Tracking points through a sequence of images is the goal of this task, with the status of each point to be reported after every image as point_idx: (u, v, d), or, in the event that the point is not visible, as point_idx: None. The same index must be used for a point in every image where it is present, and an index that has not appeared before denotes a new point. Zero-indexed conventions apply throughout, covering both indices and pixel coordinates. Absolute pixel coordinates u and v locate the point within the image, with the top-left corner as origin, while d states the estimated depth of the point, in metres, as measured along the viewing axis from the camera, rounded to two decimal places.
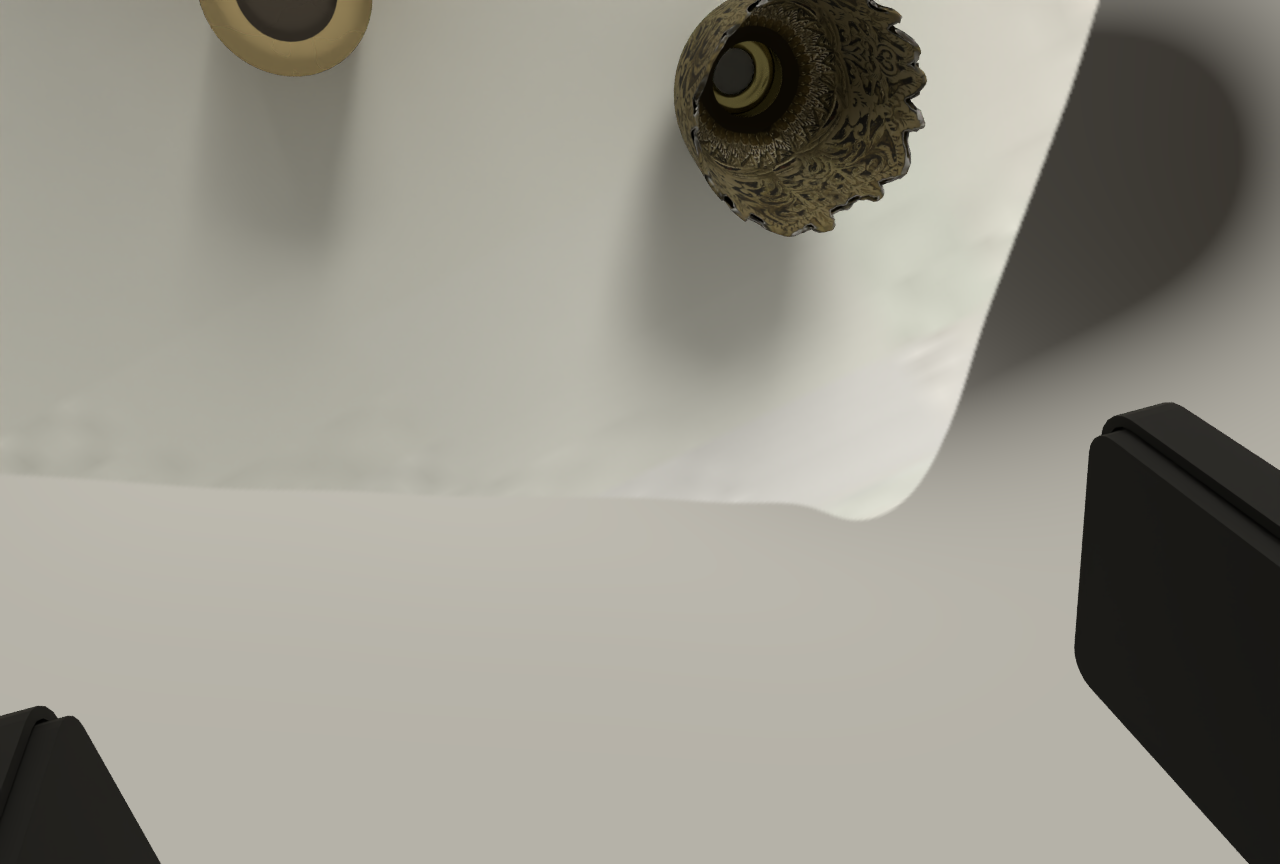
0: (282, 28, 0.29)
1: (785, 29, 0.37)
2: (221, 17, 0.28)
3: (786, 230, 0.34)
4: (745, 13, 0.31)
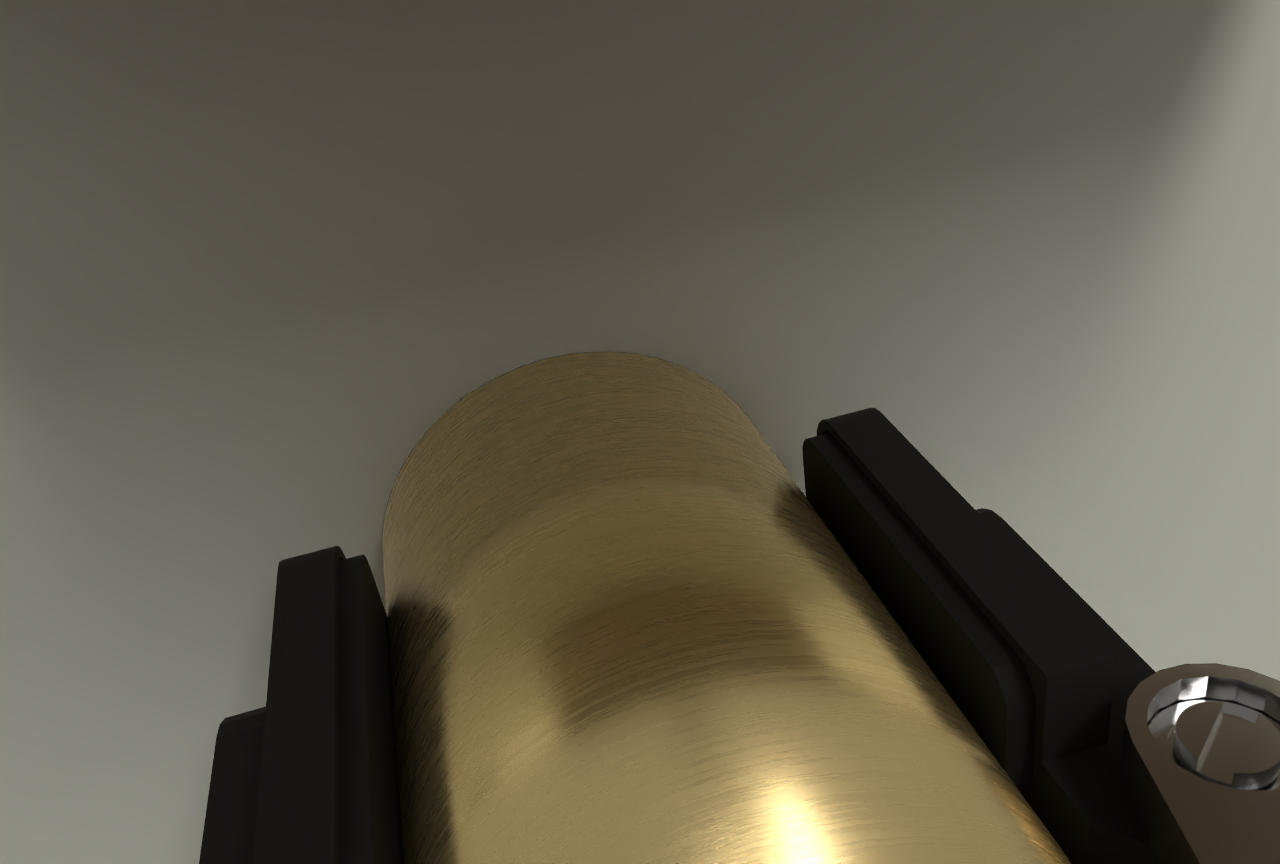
0: None
1: None
2: None
3: None
4: None
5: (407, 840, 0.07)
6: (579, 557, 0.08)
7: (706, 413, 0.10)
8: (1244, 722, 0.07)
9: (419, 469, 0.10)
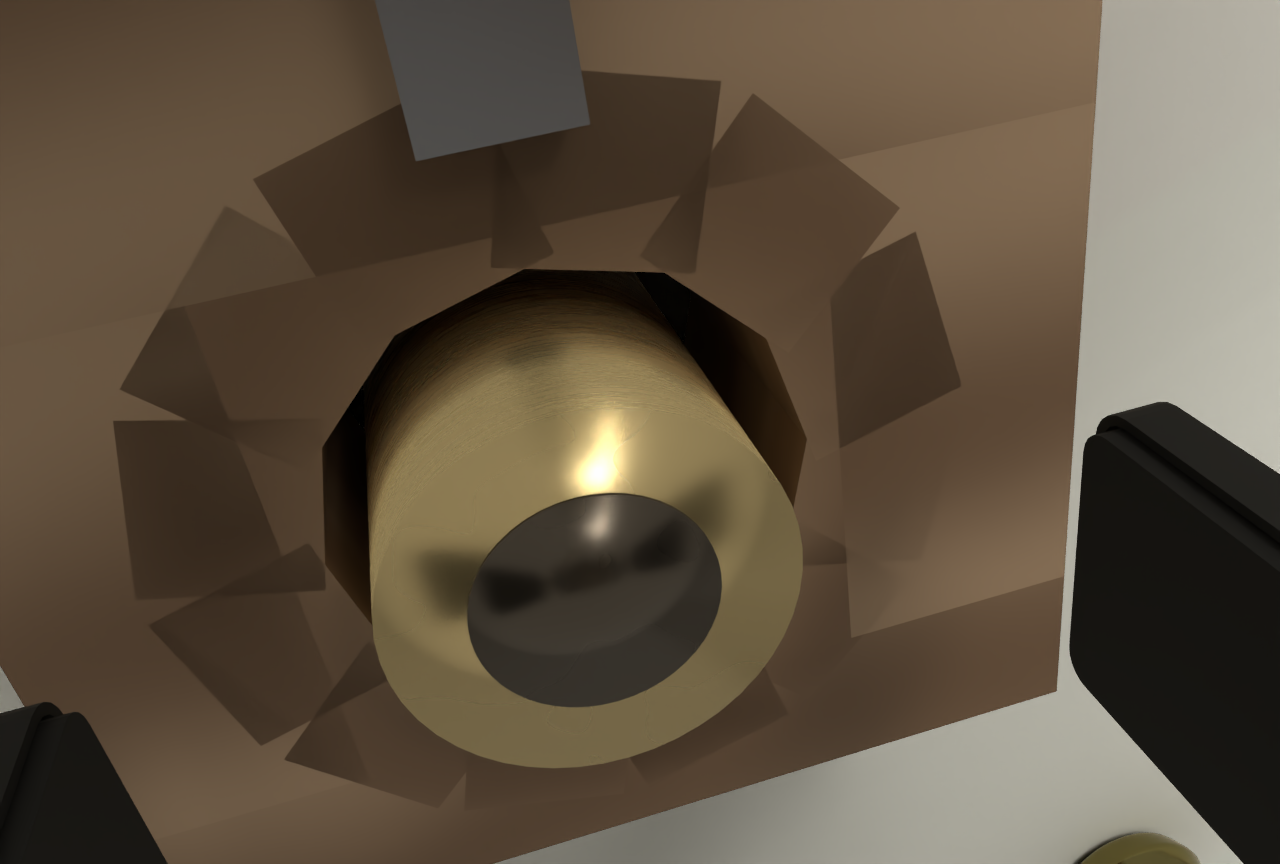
0: (577, 681, 0.11)
1: None
2: (429, 679, 0.11)
3: None
4: None
5: (368, 450, 0.12)
6: None
7: None
8: None
9: None
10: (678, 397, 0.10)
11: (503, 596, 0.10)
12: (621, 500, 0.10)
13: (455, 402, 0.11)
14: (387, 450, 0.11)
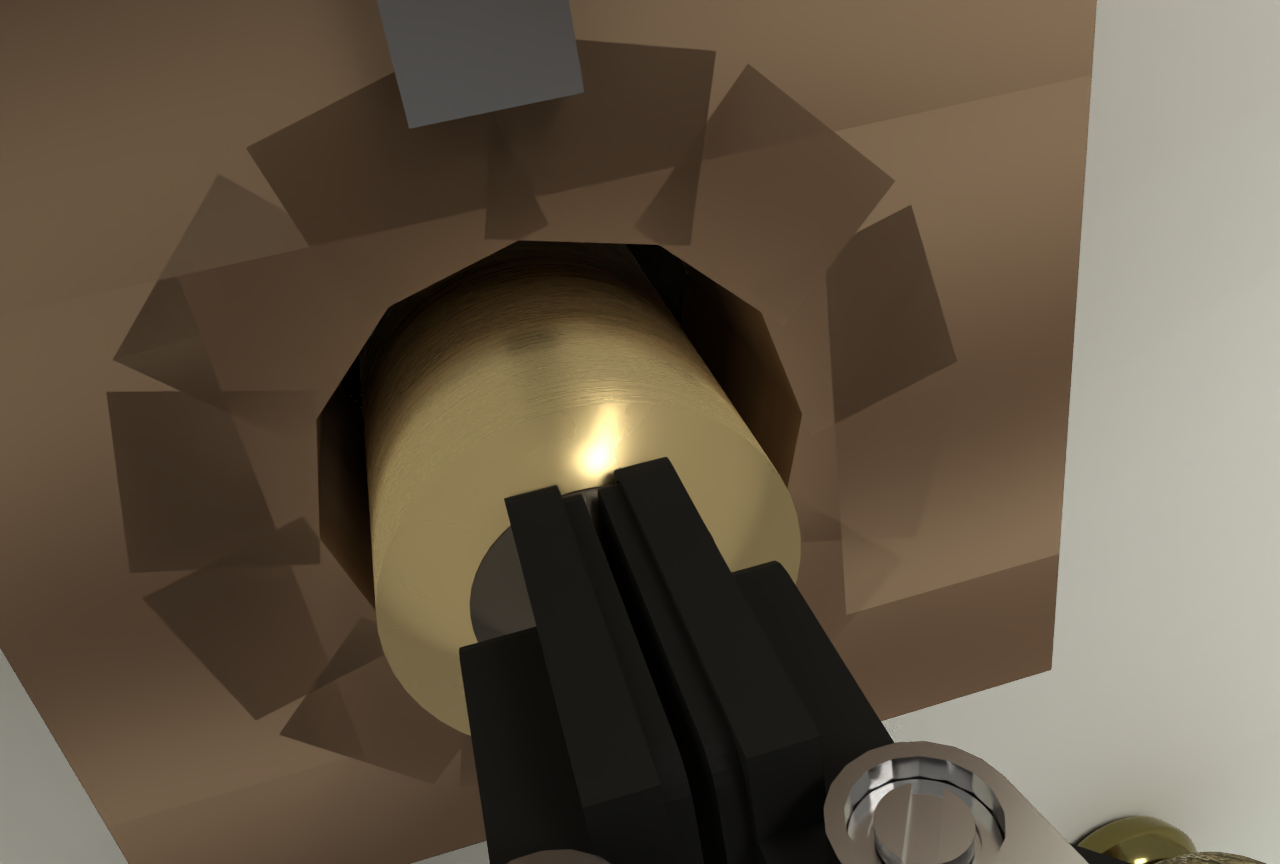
0: None
1: None
2: (432, 669, 0.11)
3: None
4: None
5: (368, 438, 0.12)
6: (474, 273, 0.13)
7: None
8: (933, 800, 0.07)
9: None
10: (678, 390, 0.11)
11: (505, 587, 0.11)
12: None
13: (455, 395, 0.11)
14: (388, 440, 0.11)
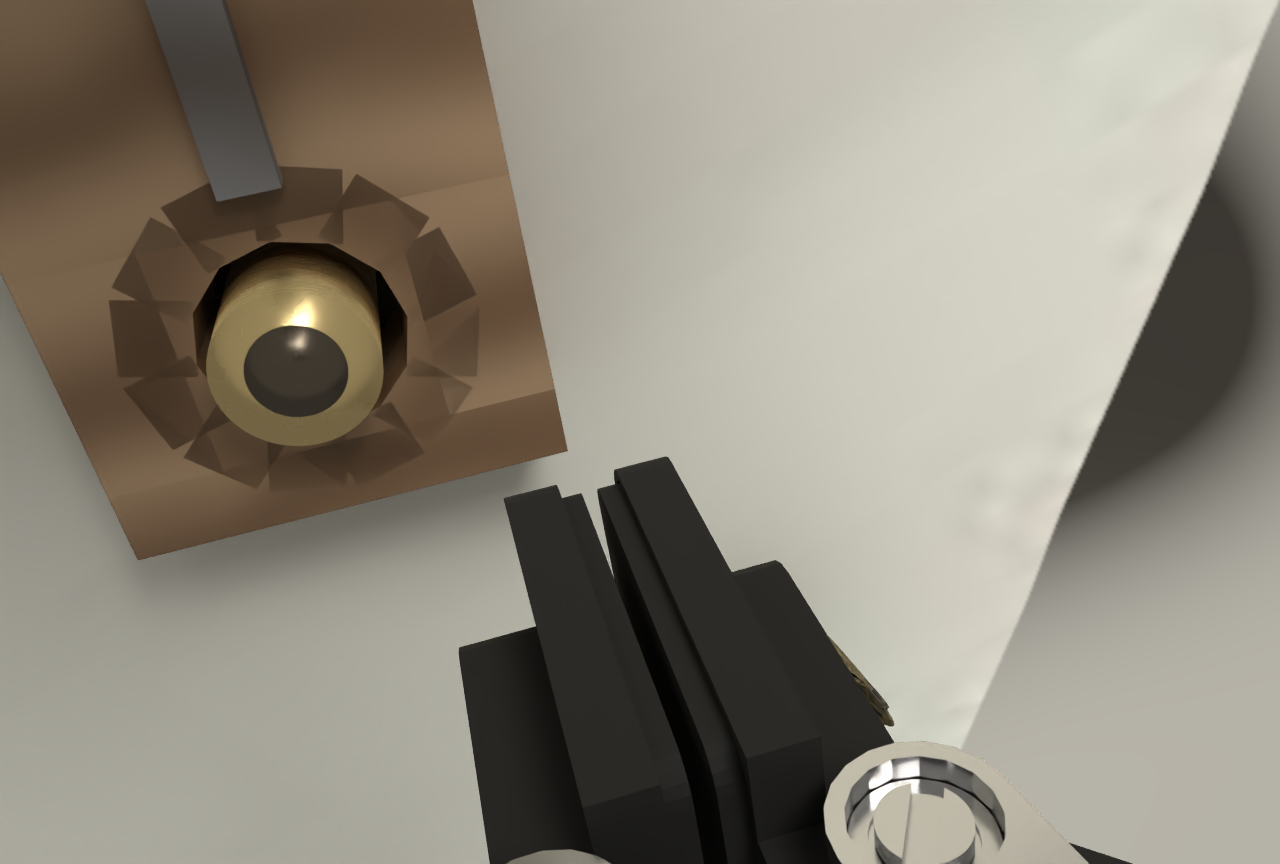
0: (293, 405, 0.28)
1: None
2: (231, 401, 0.28)
3: None
4: None
5: None
6: (264, 252, 0.30)
7: None
8: (933, 800, 0.07)
9: None
10: (324, 290, 0.28)
11: (257, 365, 0.28)
12: (299, 328, 0.27)
13: (240, 293, 0.28)
14: (218, 314, 0.28)
